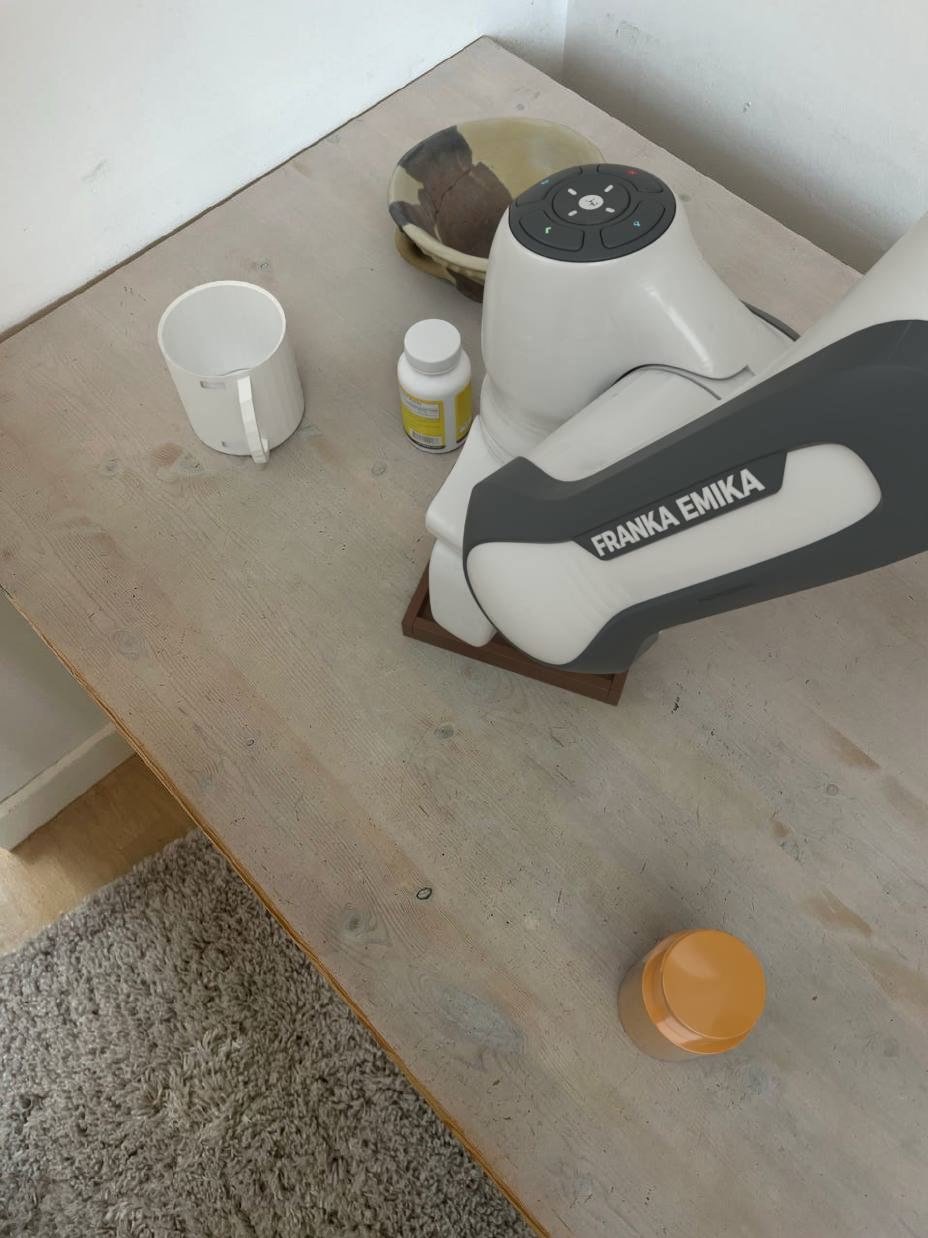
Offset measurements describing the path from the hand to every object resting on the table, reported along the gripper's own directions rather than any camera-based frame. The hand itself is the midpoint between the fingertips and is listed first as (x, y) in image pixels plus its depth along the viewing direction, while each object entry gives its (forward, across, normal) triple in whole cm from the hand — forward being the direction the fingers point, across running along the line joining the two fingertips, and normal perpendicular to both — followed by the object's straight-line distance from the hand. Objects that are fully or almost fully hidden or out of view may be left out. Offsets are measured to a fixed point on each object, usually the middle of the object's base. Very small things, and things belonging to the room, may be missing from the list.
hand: (541, 561), depth 67 cm
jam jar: (+4, +19, +22) cm, 29 cm away
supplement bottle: (+4, -8, -14) cm, 17 cm away
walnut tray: (+4, 0, 0) cm, 4 cm away
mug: (+4, +1, -27) cm, 27 cm away
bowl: (+4, -24, -20) cm, 31 cm away
